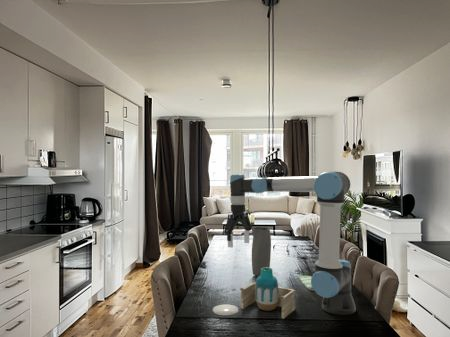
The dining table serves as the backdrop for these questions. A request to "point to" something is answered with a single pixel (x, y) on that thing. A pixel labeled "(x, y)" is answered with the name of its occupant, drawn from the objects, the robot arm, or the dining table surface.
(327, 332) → the dining table surface
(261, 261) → the vase
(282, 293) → the light wood u-shaped piece
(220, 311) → the disc
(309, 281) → the dish towel
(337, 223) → the robot arm
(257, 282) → the vase
